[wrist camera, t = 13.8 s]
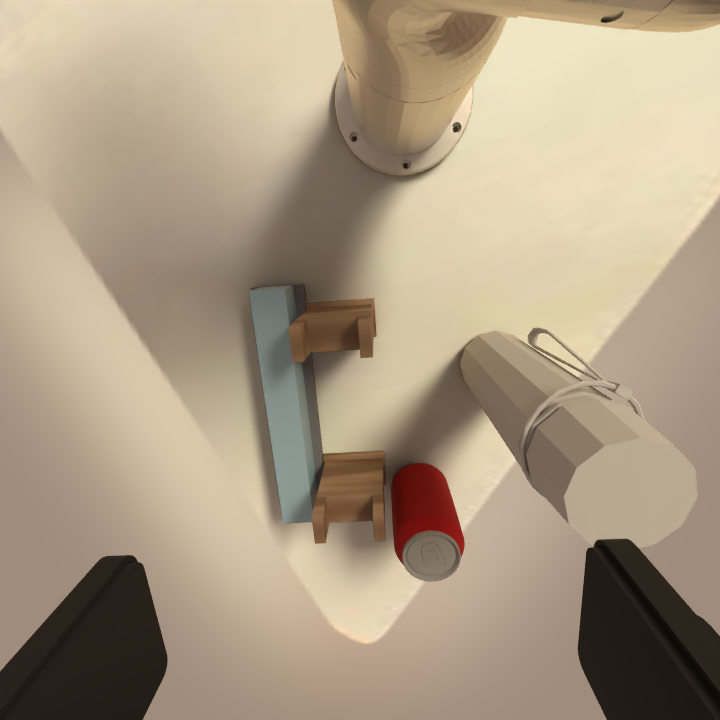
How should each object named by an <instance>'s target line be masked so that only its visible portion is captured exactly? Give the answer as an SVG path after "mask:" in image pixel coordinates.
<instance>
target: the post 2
mask: <svg viewBox="0 0 720 720" xmlns="http://www.w3.org/2000/svg"><path fill="white" fill-rule="evenodd" d="M323 464H324V468H323V472H322V476H321V481H320V485H319V489H318V493H317V497H316V501H315V505H314V509H313V514H312V522H313V530H314V538H315V544H316V543H326V538H327V532H328V526H329V522H355V521H373V524H374V537H375V541H385V507H384V484H386V474H385V458H384V451H370V452H349V453H329V454H323Z"/></svg>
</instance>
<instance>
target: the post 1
mask: <svg viewBox="0 0 720 720" xmlns="http://www.w3.org/2000/svg"><path fill="white" fill-rule="evenodd" d="M288 330H289V338H290V346H291V354H292V362H304V361H305V360H306V358H307V357H308V355H309V353H310V352H325V351H341V350H357V349H360V356H361V358H369V357H373V338H374V337H376V322H375V307H374V298H371V299H356V300H342V301H328V302H314V303H306V311H305V312H304V313H303V314H302V315H301V316H300V317H299V318H298V319H296V320H295V321H294V322H293V323H292V324H291V325H290V326H289V327H288Z"/></svg>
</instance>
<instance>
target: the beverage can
mask: <svg viewBox="0 0 720 720" xmlns="http://www.w3.org/2000/svg"><path fill="white" fill-rule="evenodd" d="M391 497H392V518H393V534H394V547H395V552H396V555H397V557H398V558H399V560H400V561H401V563H402V564H403V565H404V566H405V568H406V570H407V571H408V572H409V573H410V574H411V575H412V576H414V577H415V578H417V579H420V580H423V581H439V580H443V579H445V578H447V577H449V576H450V575H452V574H453V573H454V572H455V571H456V569H457V568H458V566H459V564H460V559H461V556H462V554H463V550H464V537H463V534H462V530H461V527H460V523H459V520H458V516H457V513H456V510H455V506H454V503H453V500H452V496H451V493H450V490H449V487H448V484H447V481H446V478H445V476H444V475H443V474H442V472H441V471H439V470H438V469H437V468H435V467H433V466H431V465H428V464H423V463H416V464H411V465H408V466H406V467H404V468H402V469H401V470H400V471H399V472H398V473H397V474H396V475H395V477H394V479H393V481H392V485H391Z"/></svg>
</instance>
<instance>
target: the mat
mask: <svg viewBox="0 0 720 720" xmlns="http://www.w3.org/2000/svg"><path fill="white" fill-rule="evenodd" d="M293 288H294V297H295V305H296V313H297V319H298V318H299V317H300V316H301V315H302V314H303V313H304V312H305V311H306V298H305V289H304V284H300V285H293ZM254 289H257V288H251V290H254ZM302 364H303V372H304V381H305V389H306V397H307V406H308V414H309V422H310V431H311V439H312V448H313V456H314V464H315V473H316V481H317V489H319V485H320V481H321V476H322V472H323V468H324V464H323V451H322V442H321V433H320V424H319V415H318V406H317V397H316V388H315V379H314V370H313V361H312V352H310V353H309V355H308V357H307V358H306V360H305V361H304V362H302Z"/></svg>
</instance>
